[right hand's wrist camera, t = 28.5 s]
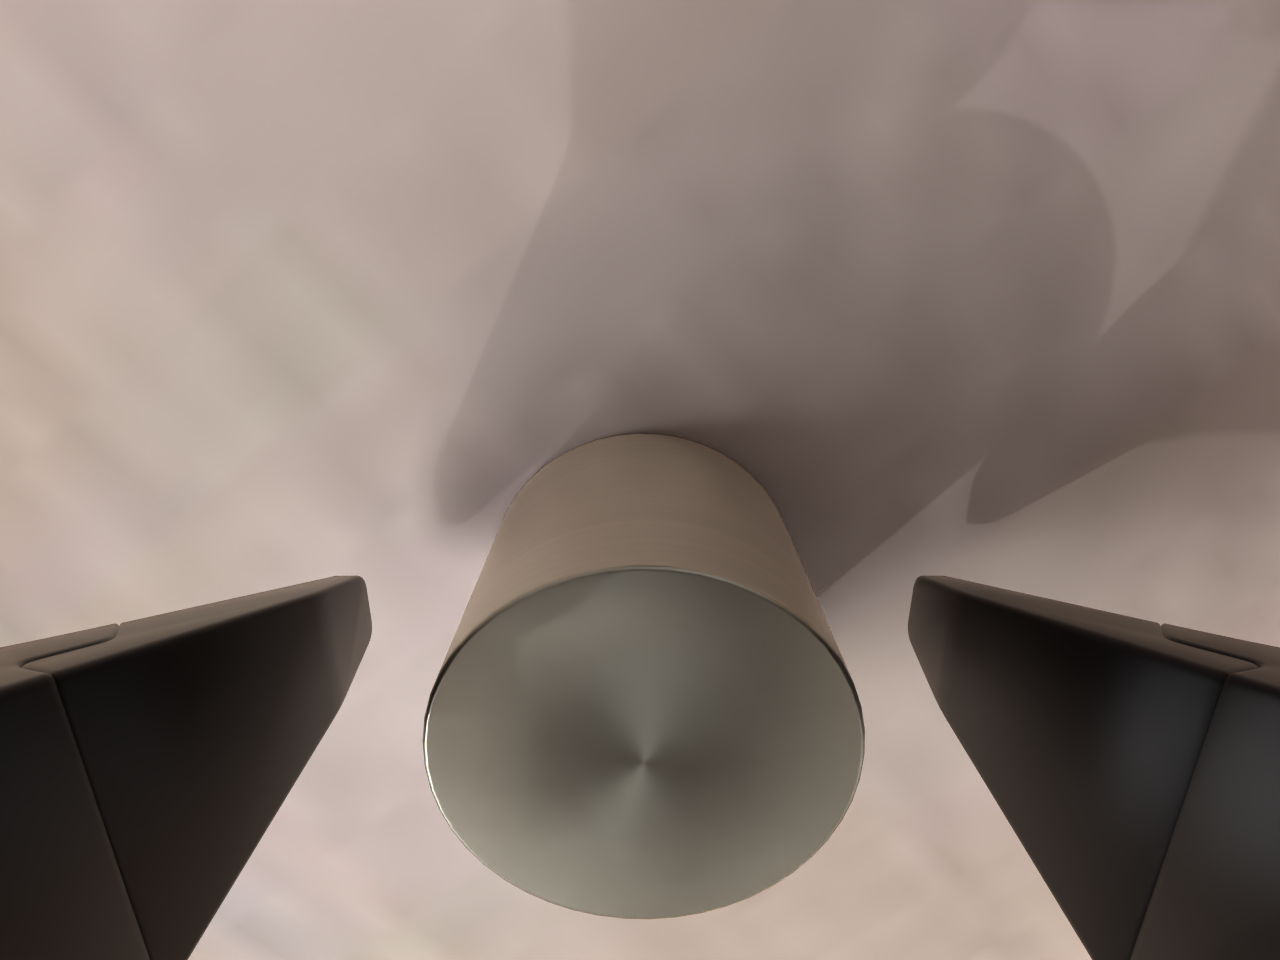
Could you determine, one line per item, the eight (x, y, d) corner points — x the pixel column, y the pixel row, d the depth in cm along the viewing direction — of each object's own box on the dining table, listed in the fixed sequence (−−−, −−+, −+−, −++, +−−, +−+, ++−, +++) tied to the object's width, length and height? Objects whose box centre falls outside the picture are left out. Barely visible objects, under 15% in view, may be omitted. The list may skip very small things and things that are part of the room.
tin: (802, 676, 13) (877, 896, 9) (529, 713, 14) (479, 941, 9) (776, 409, 11) (853, 532, 7) (461, 458, 12) (365, 602, 8)
